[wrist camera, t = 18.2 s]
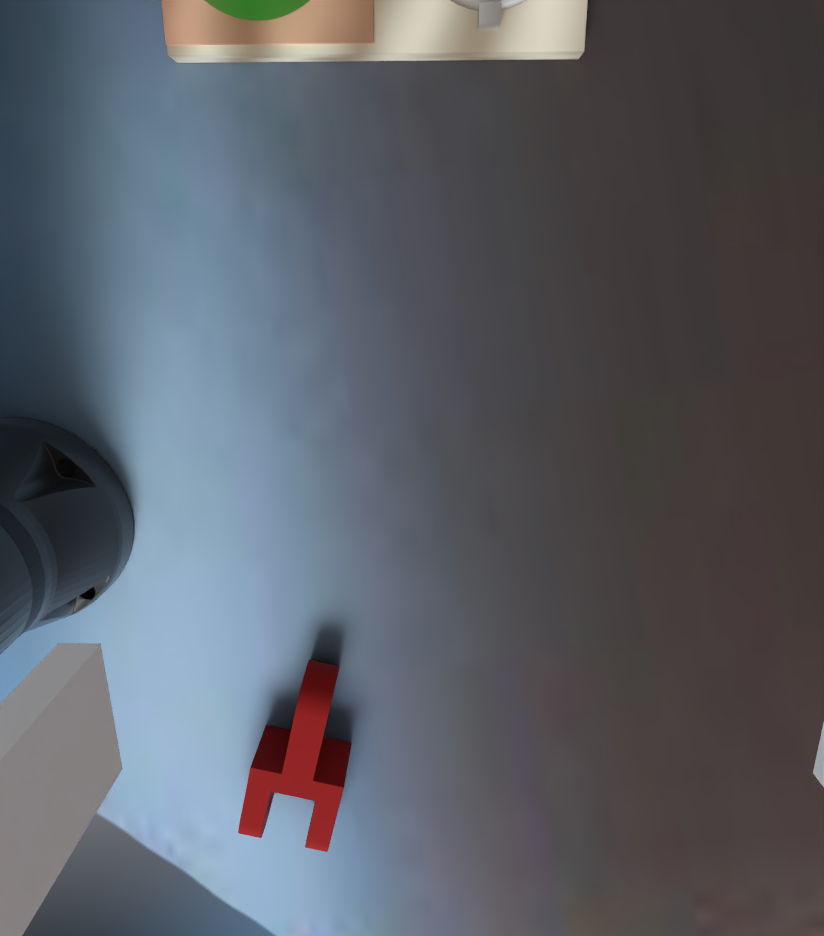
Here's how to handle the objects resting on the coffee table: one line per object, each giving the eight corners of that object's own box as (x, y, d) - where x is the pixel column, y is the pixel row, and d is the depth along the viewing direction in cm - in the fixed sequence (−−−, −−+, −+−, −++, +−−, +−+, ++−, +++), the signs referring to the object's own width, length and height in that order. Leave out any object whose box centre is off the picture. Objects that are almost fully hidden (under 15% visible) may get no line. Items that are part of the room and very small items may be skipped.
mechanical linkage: (333, 815, 57) (323, 866, 52) (251, 798, 56) (234, 847, 52) (372, 660, 52) (365, 700, 47) (283, 640, 52) (267, 679, 47)
